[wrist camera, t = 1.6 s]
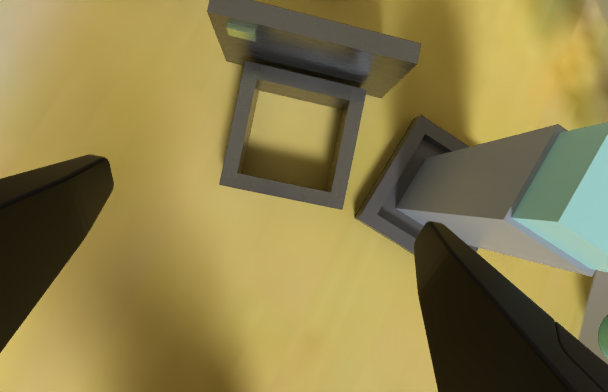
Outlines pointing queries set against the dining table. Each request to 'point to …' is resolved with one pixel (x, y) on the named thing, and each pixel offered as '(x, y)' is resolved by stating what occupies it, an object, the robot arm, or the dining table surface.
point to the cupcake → (603, 336)
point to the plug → (523, 196)
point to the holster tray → (404, 182)
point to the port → (303, 81)
